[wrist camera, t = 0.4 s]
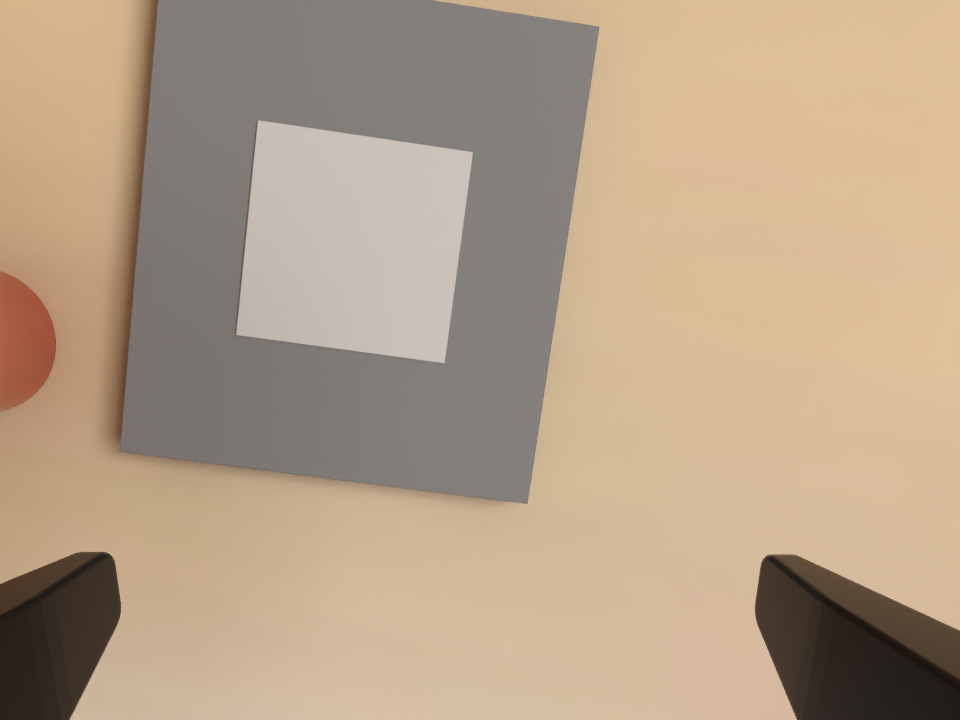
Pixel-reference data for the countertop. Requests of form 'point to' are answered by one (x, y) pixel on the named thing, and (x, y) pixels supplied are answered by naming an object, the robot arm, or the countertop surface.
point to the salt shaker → (23, 342)
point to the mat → (354, 238)
